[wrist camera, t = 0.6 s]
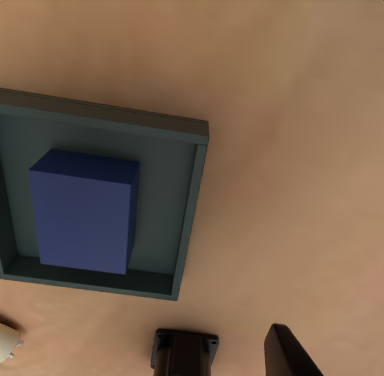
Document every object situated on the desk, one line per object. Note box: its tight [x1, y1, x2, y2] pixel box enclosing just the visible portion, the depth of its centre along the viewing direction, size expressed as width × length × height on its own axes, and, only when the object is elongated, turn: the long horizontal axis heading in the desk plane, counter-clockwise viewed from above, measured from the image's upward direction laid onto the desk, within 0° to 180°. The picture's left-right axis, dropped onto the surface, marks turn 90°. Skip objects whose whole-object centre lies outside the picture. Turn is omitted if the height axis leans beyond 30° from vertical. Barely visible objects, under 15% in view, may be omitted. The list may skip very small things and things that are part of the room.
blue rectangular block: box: [28, 149, 140, 274], centre depth 21 cm, size 8×6×3 cm
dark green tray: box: [0, 88, 209, 301], centre depth 22 cm, size 14×14×3 cm
